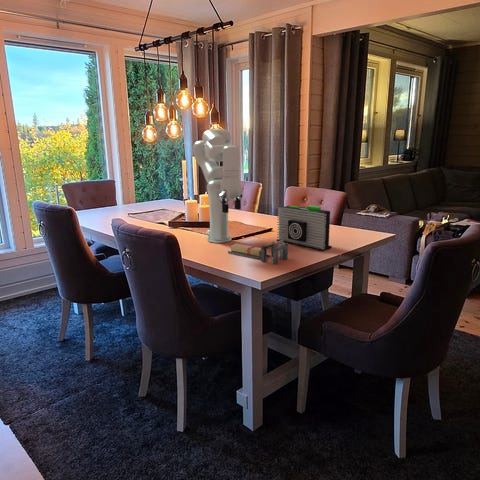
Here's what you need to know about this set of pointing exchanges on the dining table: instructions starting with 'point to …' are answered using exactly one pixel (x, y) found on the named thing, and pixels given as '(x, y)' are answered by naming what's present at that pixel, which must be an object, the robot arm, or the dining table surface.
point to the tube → (246, 250)
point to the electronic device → (304, 227)
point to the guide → (246, 255)
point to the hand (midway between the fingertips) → (231, 210)
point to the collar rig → (275, 251)
